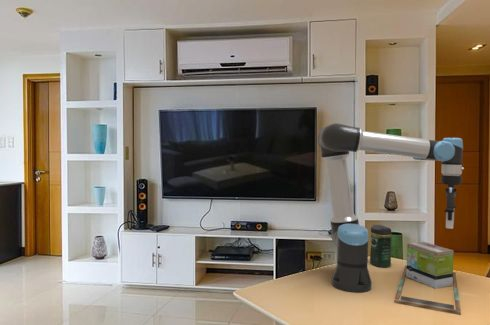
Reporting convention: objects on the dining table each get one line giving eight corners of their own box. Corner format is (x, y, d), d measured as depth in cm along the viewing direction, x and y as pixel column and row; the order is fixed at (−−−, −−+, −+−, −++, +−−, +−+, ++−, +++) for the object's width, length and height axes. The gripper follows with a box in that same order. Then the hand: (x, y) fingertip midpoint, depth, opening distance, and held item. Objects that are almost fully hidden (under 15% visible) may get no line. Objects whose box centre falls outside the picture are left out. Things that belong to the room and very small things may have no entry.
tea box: (405, 277, 162) (406, 242, 162) (422, 274, 166) (423, 241, 166) (435, 289, 149) (436, 251, 148) (453, 286, 153) (454, 249, 152)
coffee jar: (393, 267, 177) (394, 227, 176) (378, 268, 175) (379, 227, 174) (381, 261, 186) (382, 223, 186) (367, 262, 184) (368, 223, 184)
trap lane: (393, 302, 134) (394, 299, 134) (404, 267, 177) (405, 264, 177) (460, 314, 125) (461, 311, 125) (455, 274, 167) (455, 271, 167)
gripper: (462, 176, 147) (460, 231, 147) (461, 174, 168) (460, 222, 169) (440, 175, 150) (438, 229, 151) (442, 173, 172) (441, 220, 173)
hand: (449, 225), depth 160 cm, fingers open, 13 cm apart
